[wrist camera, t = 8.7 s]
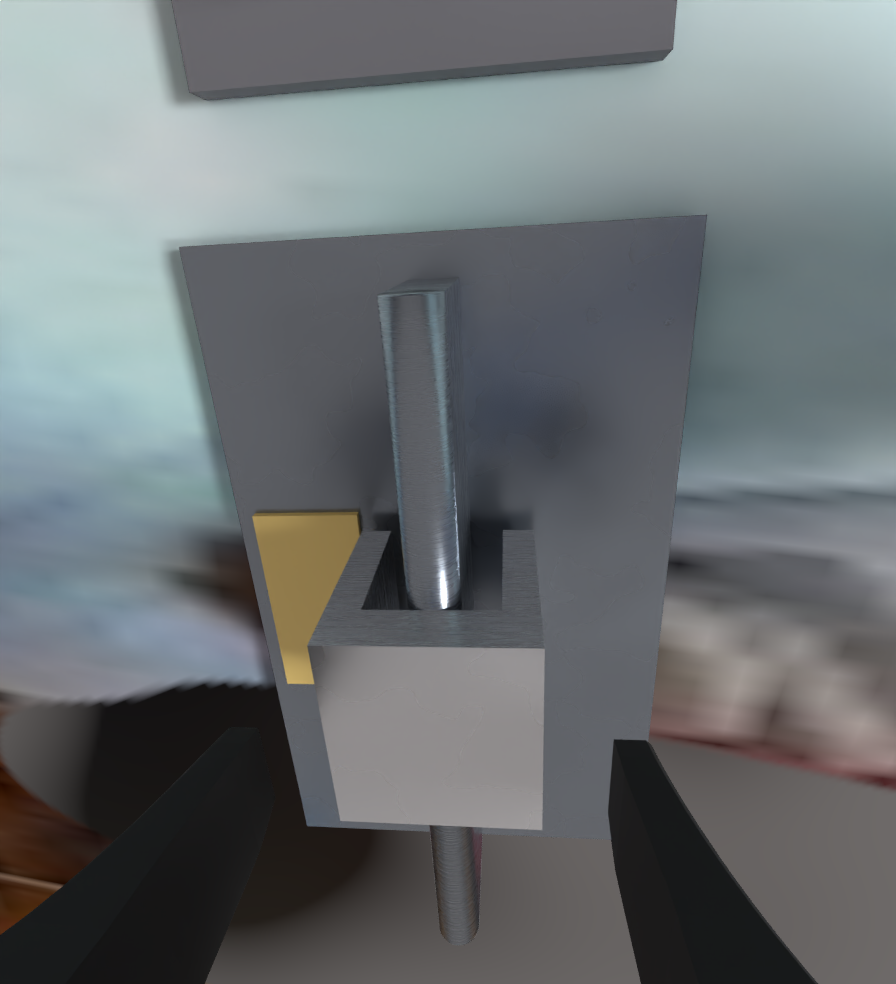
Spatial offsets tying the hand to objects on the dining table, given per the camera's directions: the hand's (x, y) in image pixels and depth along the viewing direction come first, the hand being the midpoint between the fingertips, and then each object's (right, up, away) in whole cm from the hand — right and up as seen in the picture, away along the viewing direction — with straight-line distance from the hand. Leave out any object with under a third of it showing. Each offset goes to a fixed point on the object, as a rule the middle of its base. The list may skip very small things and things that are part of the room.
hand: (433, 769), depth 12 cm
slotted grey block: (0, +2, +5) cm, 5 cm away
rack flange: (+1, +3, +6) cm, 7 cm away
